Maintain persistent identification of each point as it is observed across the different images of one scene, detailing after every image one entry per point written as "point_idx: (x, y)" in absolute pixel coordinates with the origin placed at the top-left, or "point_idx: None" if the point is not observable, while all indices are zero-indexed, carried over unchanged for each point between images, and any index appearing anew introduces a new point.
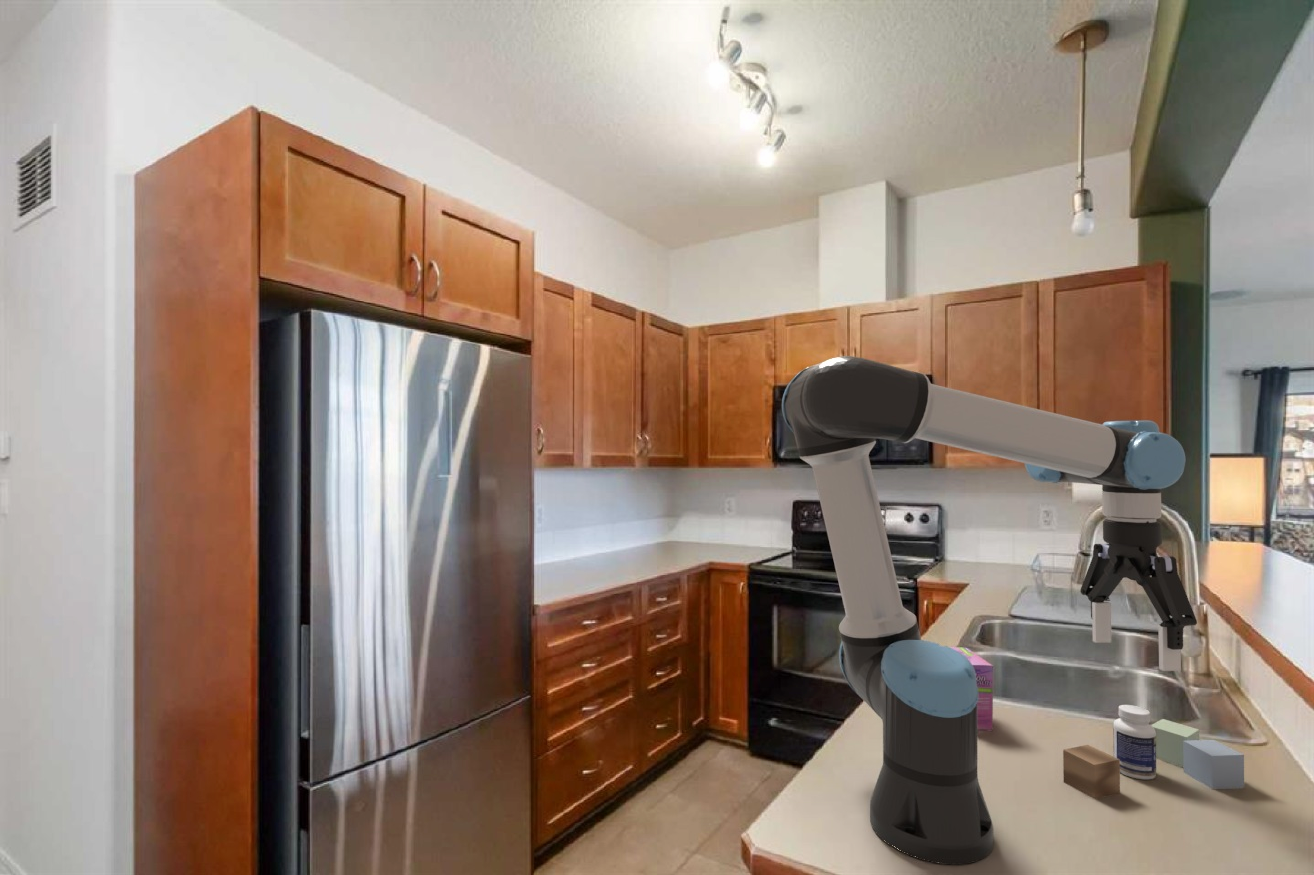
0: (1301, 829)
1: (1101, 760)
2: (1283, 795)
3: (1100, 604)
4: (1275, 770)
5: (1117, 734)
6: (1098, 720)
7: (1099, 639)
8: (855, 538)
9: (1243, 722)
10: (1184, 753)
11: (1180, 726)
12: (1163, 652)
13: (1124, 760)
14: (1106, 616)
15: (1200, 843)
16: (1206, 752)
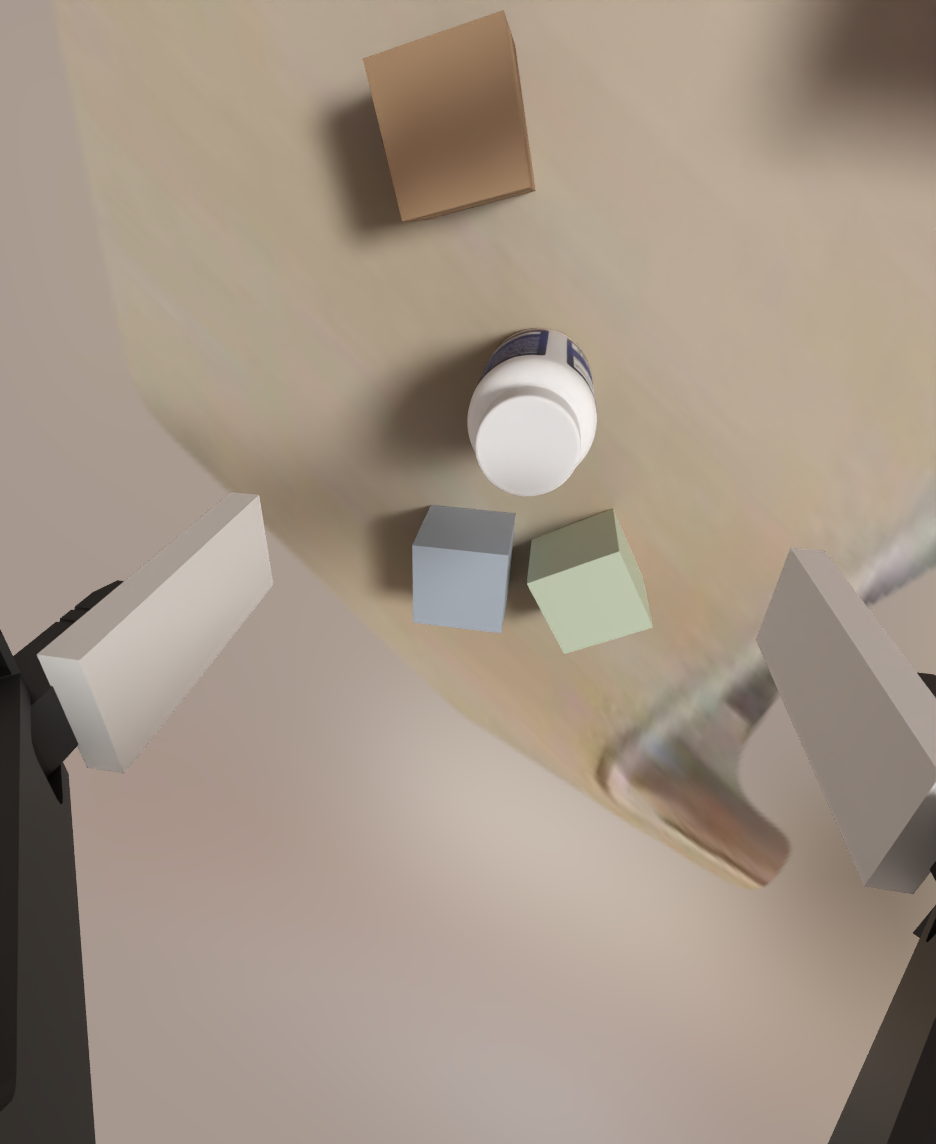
0: (268, 526)
1: (396, 129)
2: (396, 619)
3: (907, 806)
4: (493, 698)
5: (540, 352)
6: (860, 558)
7: (789, 582)
8: None
9: (698, 835)
10: (507, 537)
11: (593, 627)
12: (171, 544)
13: (517, 338)
14: (830, 747)
15: (182, 233)
16: (432, 549)
